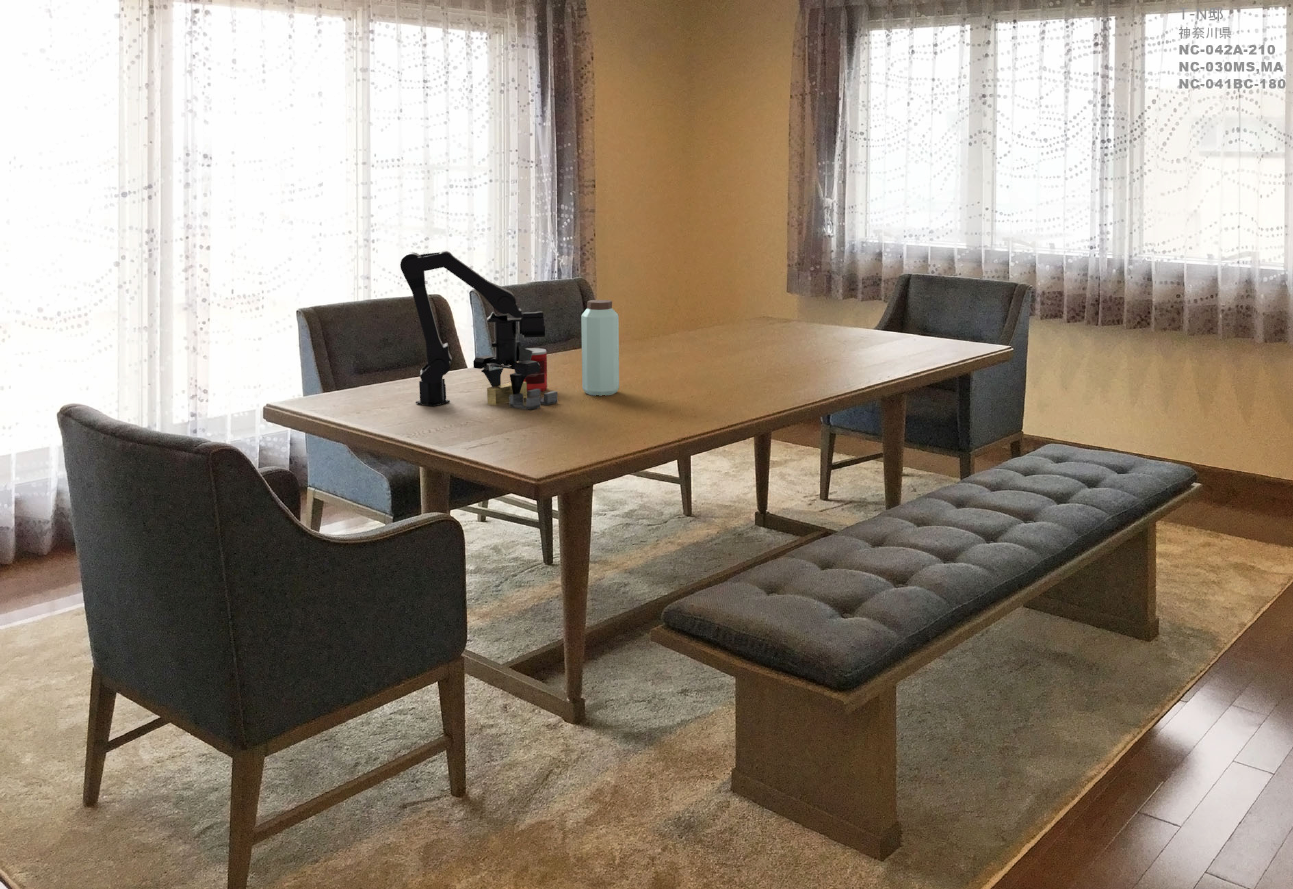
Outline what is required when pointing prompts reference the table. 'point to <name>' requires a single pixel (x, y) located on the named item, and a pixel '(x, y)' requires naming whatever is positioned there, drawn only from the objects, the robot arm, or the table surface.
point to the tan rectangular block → (503, 393)
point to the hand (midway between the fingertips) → (507, 397)
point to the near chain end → (530, 403)
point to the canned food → (538, 378)
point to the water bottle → (600, 348)
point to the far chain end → (548, 397)
